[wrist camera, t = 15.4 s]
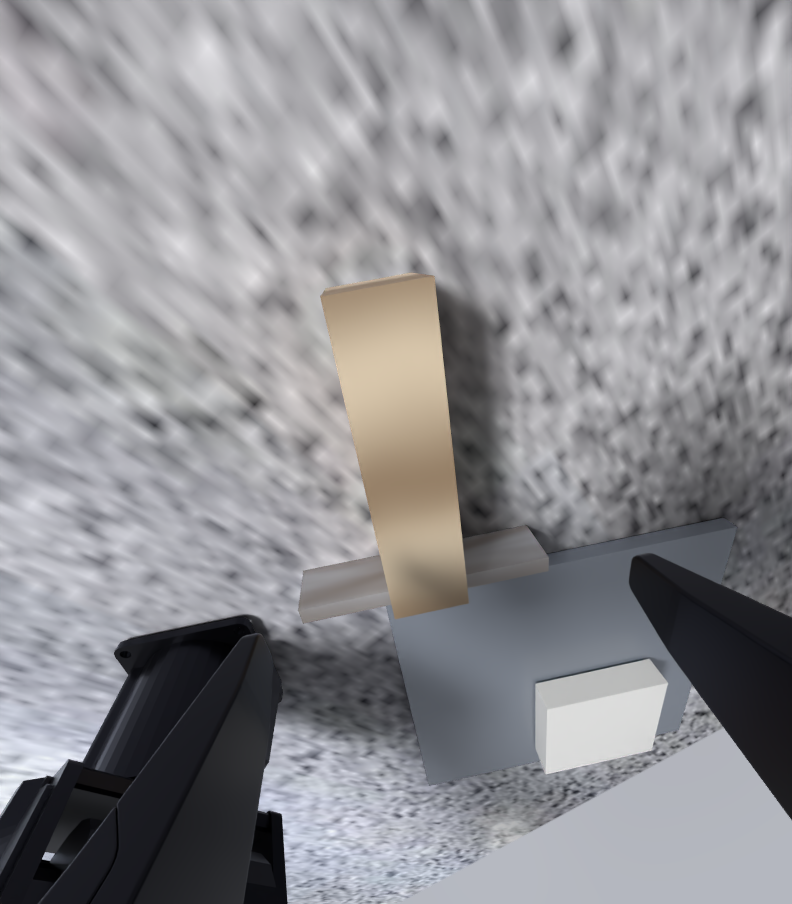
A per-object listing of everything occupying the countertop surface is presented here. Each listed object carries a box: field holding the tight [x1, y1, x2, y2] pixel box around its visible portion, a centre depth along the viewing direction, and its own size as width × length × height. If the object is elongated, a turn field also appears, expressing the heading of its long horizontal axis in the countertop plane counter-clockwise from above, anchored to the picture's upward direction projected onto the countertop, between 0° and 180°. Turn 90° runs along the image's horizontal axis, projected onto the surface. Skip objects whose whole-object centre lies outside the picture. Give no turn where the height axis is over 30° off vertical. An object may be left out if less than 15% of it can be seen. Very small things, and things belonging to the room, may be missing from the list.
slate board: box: [386, 518, 738, 786], centre depth 24 cm, size 18×18×1 cm
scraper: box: [298, 273, 549, 624], centre depth 15 cm, size 13×11×4 cm
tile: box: [535, 659, 668, 774], centre depth 24 cm, size 7×2×7 cm
